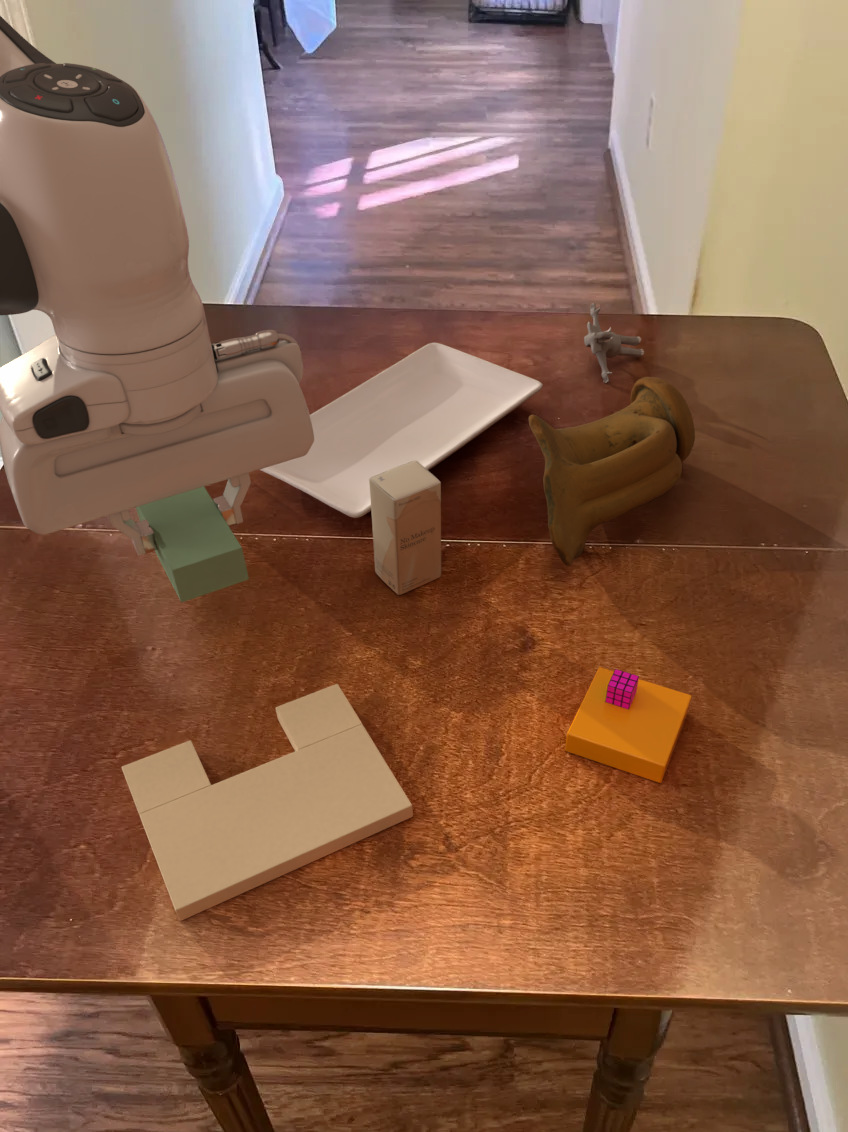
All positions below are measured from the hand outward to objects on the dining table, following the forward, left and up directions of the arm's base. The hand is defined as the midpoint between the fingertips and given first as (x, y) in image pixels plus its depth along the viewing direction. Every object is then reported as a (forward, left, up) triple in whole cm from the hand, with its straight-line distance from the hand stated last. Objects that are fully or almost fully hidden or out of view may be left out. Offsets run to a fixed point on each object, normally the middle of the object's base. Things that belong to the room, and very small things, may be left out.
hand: (188, 534), depth 71 cm
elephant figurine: (+59, +30, -17) cm, 68 cm away
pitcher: (+42, +6, -17) cm, 45 cm away
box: (+20, +6, -17) cm, 27 cm away
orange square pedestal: (+27, -20, -17) cm, 38 cm away
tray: (+29, +26, -17) cm, 42 cm away
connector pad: (0, 0, -2) cm, 2 cm away
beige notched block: (-1, -12, -17) cm, 21 cm away
